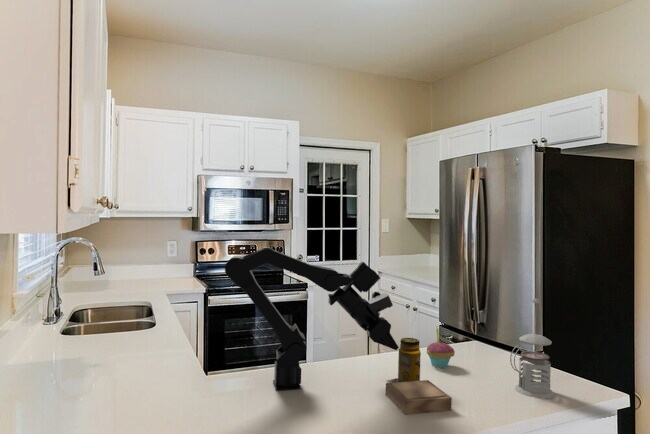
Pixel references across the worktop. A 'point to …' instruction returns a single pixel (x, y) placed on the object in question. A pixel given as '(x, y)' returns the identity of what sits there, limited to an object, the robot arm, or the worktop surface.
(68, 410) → the worktop surface
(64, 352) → the worktop surface
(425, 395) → the walnut base
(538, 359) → the french press
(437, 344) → the cupcake
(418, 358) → the condiment
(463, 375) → the worktop surface
